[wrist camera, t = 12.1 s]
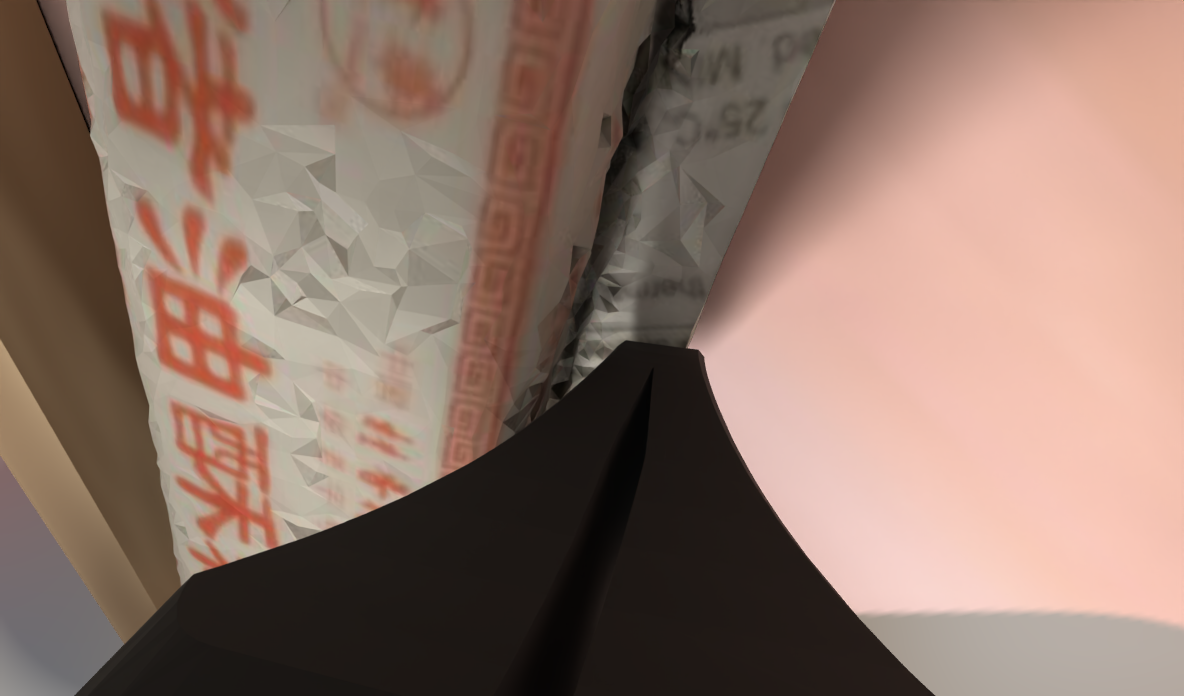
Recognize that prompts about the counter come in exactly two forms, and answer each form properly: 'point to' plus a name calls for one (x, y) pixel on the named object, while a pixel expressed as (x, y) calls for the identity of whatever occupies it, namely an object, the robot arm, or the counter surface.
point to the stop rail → (72, 341)
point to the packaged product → (408, 224)
